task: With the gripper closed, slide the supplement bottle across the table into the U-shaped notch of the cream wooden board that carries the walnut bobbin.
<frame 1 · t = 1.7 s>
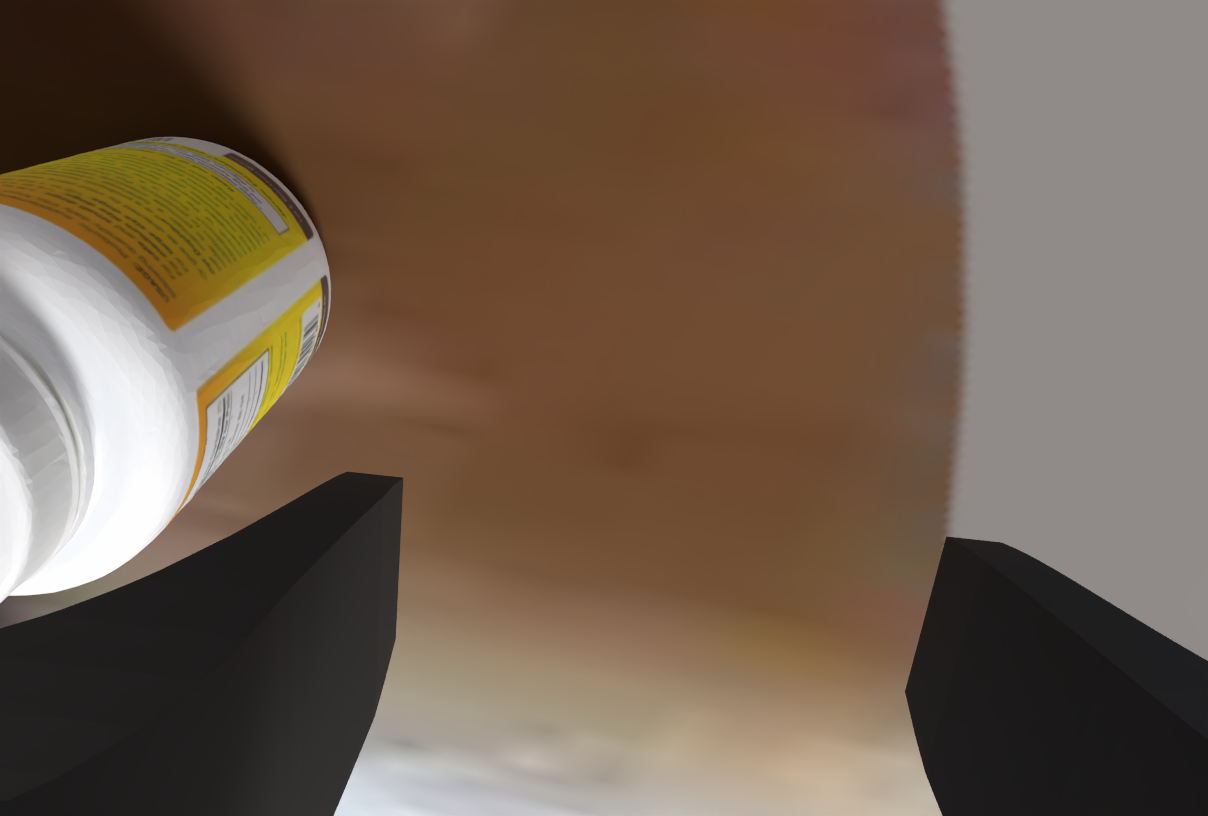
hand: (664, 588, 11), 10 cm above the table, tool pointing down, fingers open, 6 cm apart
supplement bottle: (207, 271, 21), on the table
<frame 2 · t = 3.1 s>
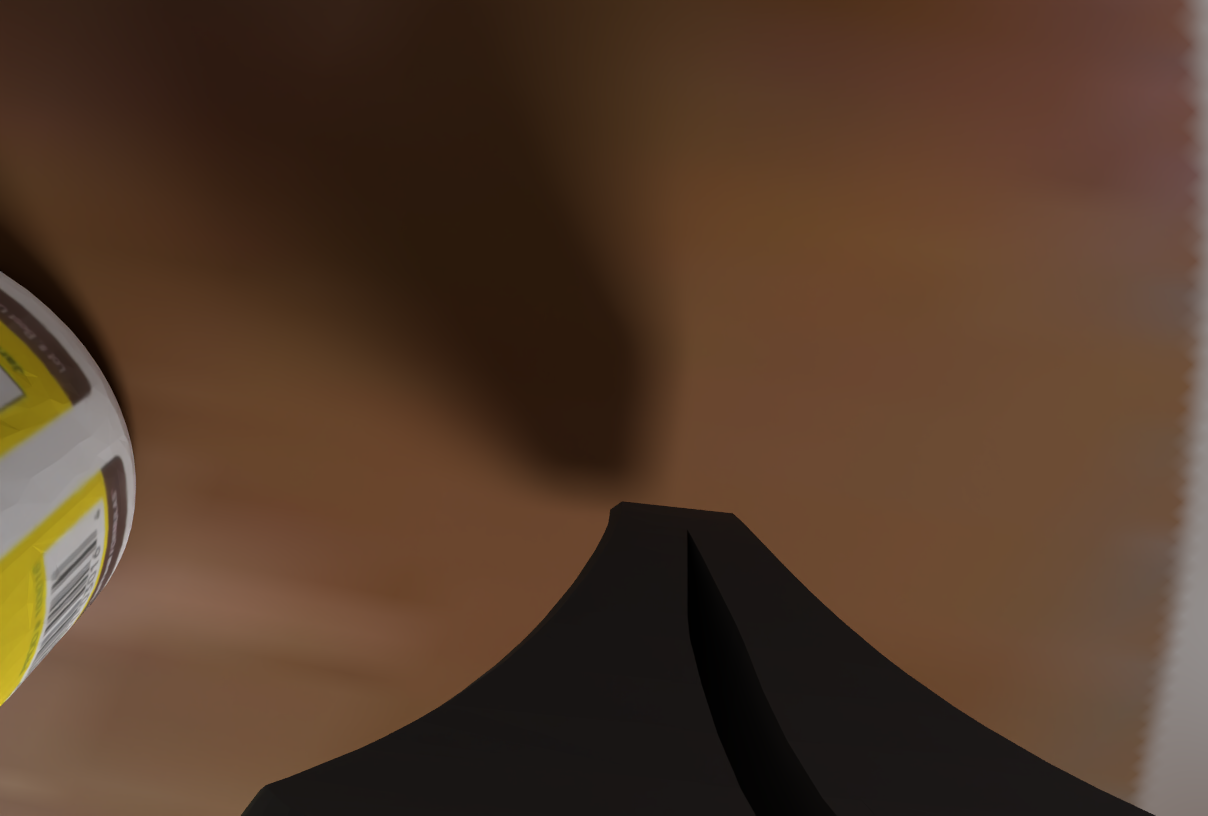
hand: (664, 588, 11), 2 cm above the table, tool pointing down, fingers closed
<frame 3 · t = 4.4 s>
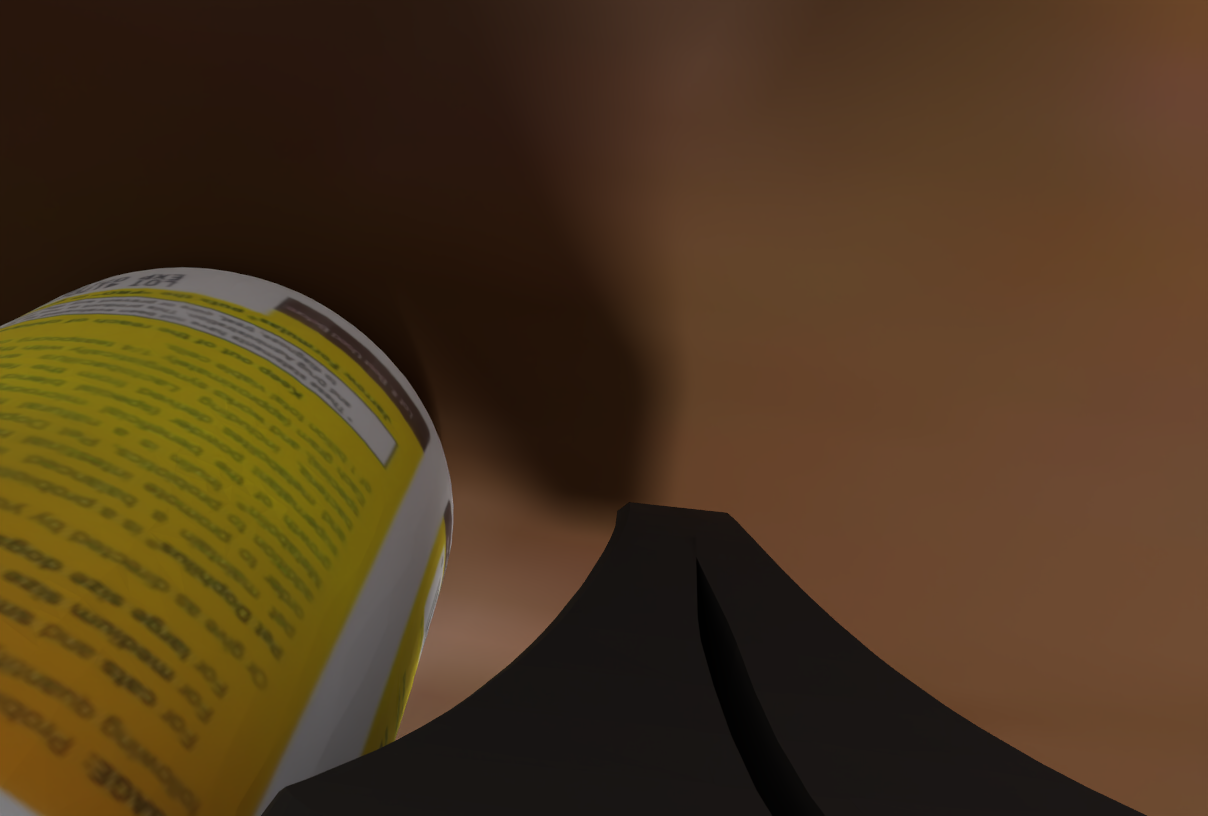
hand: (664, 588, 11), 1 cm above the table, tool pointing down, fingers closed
supplement bottle: (240, 474, 12), on the table, touching gripper
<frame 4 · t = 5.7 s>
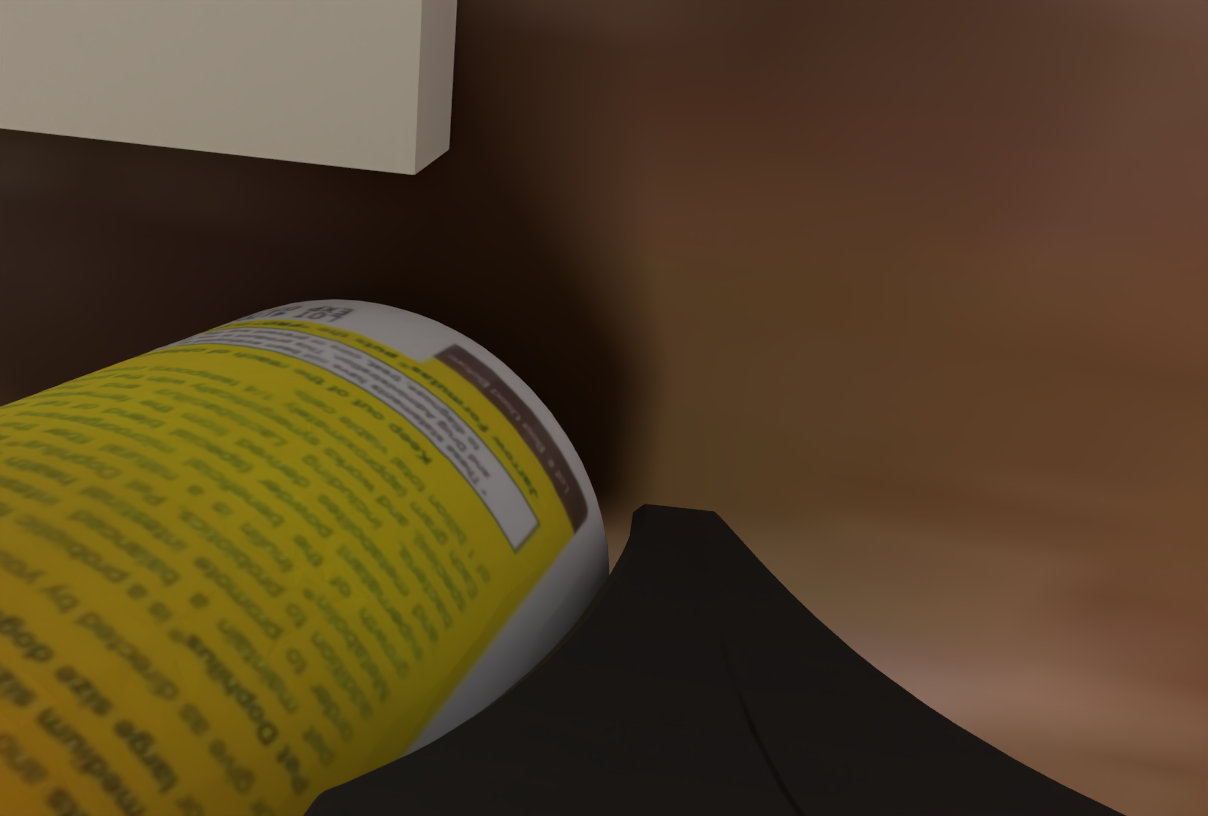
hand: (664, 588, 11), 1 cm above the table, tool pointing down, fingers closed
supplement bottle: (402, 520, 12), point 1 cm above the table, touching gripper
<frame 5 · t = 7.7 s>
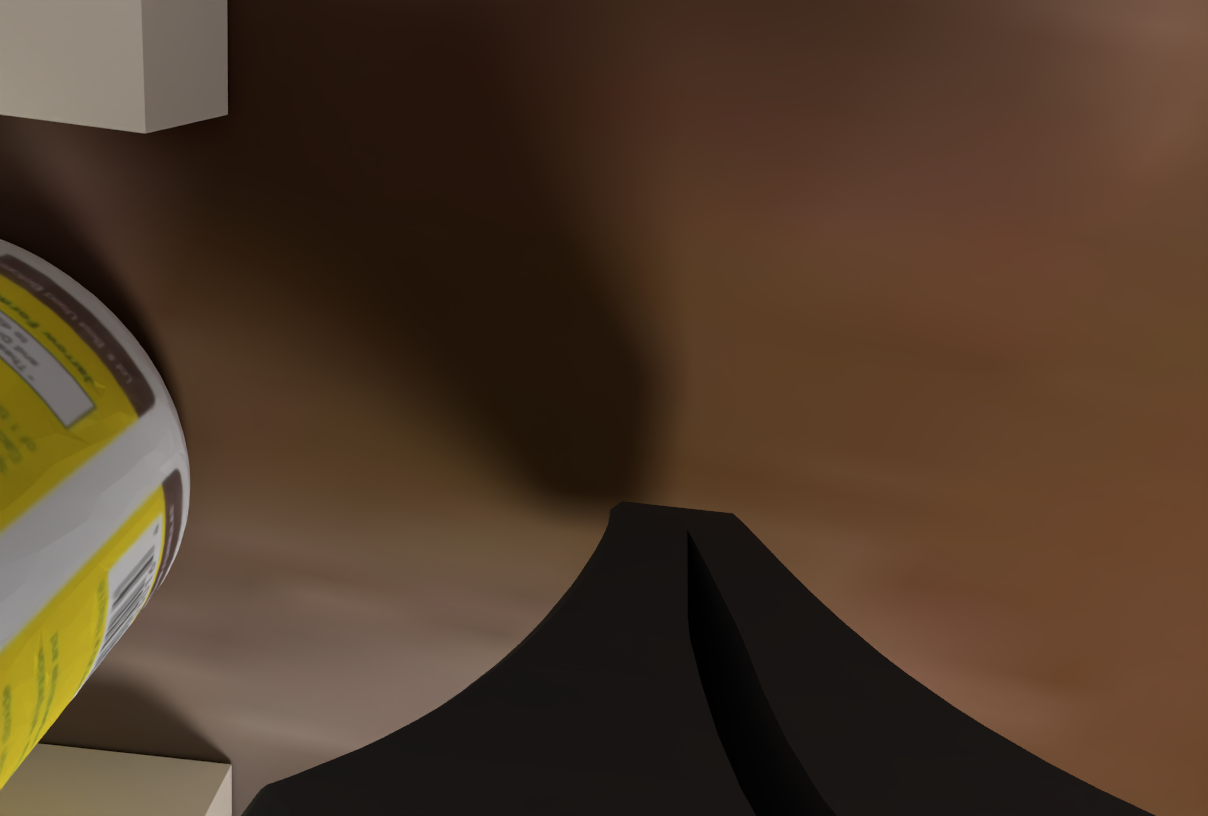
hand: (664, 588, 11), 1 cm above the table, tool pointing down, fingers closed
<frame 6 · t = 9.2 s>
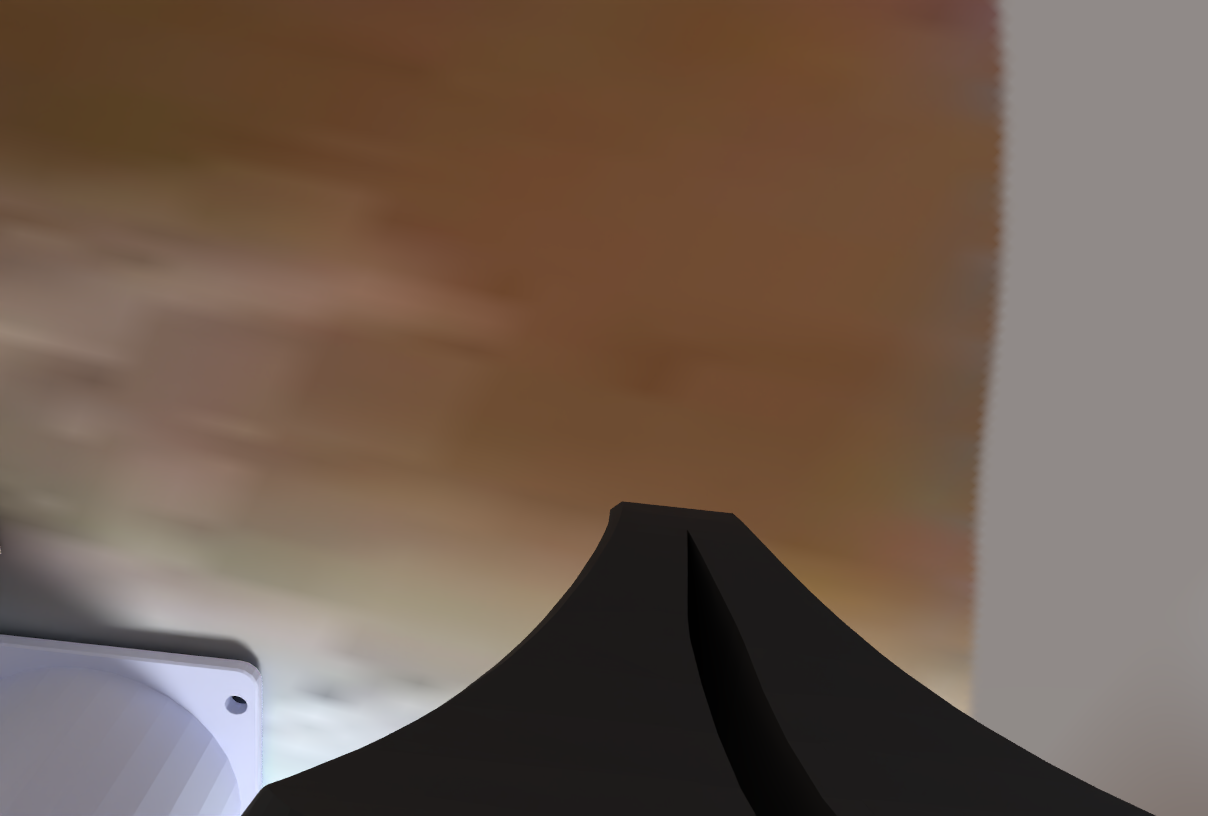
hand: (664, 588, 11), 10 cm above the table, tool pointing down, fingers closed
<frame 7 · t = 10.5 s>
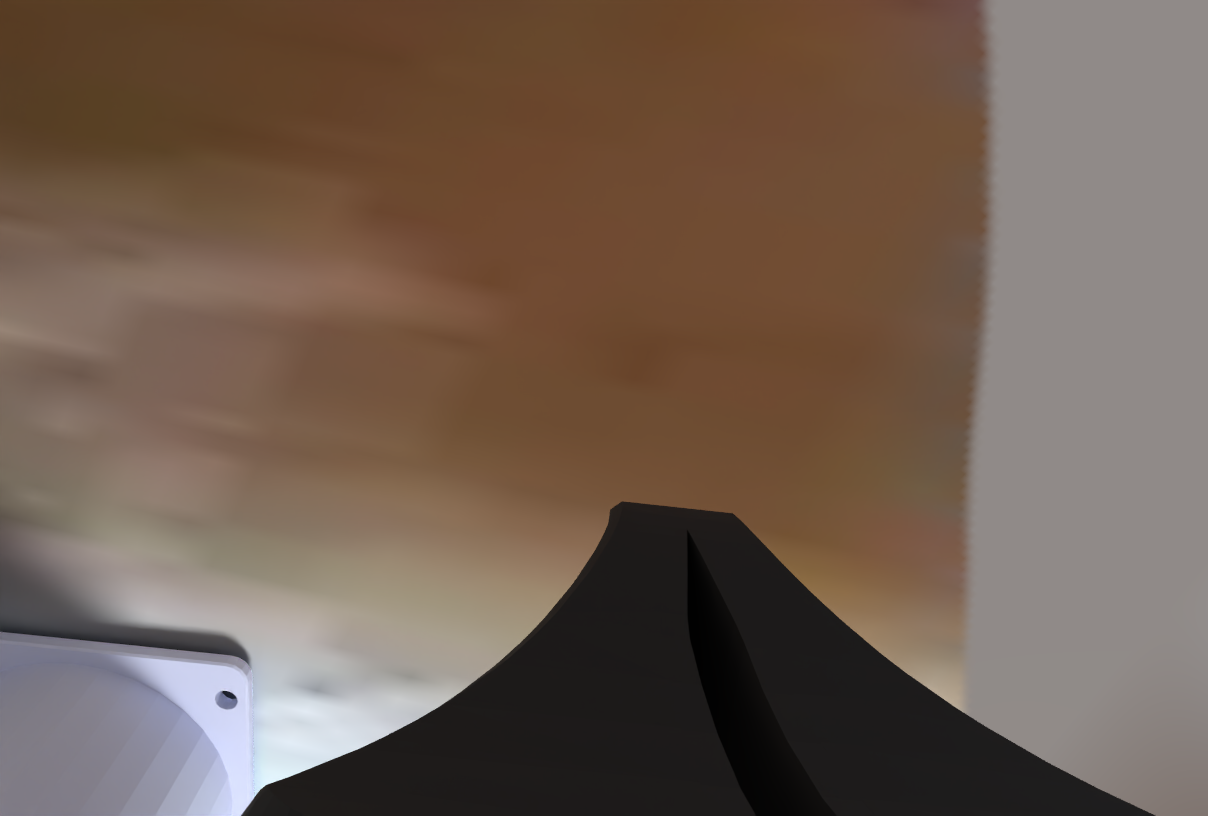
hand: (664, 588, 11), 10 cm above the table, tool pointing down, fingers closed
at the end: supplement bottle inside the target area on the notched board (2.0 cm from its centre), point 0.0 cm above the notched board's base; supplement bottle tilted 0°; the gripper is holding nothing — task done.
